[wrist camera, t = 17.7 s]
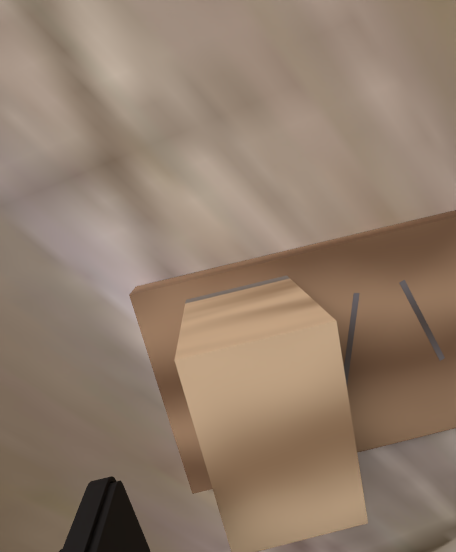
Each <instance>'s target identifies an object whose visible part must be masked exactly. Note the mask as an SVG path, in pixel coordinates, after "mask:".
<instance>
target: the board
mask: <svg viewBox="0 0 456 552" xmlns="http://www.w3.org/2000/svg"><path fill="white" fill-rule="evenodd" d="M283 276H288V277H289V278H290V279H291V280H292V281H293V282H295V283H296V284H297V285H298V286H299V287H300V288H301V289H302V290H303V291H304V292H305V293H307V294H308V295H309V296H310V297H311V298H312V299H313V300H314V301H315V302H316V303H318V304H319V305H320V306H321V307H322V308H323V309H324V310H325V311H326V312H327V313H328V314H330V315H331V316H332V317H333V318H334V319H335V320H336V321H337V327H338V334H339V340H340V347H341V353H342V359H343V366H344V372H345V379H346V385H347V391H348V398H349V404H350V411H351V417H352V423H353V430H354V436H355V443H356V449H357V453H358V452H362V451H366V450H370V449H374V448H378V447H382V446H386V445H390V444H394V443H398V442H402V441H406V440H410V439H414V438H418V437H422V436H426V435H430V434H434V433H438V432H442V431H446V430H450V429H454V428H456V210H455V211H450V212H446V213H442V214H438V215H434V216H430V217H425V218H421V219H417V220H413V221H409V222H404V223H400V224H396V225H392V226H388V227H383V228H379V229H375V230H371V231H367V232H363V233H358V234H354V235H350V236H346V237H342V238H337V239H333V240H329V241H325V242H321V243H317V244H312V245H308V246H304V247H300V248H296V249H291V250H287V251H283V252H279V253H275V254H271V255H266V256H262V257H258V258H254V259H250V260H245V261H241V262H237V263H233V264H229V265H225V266H220V267H216V268H212V269H208V270H204V271H199V272H195V273H191V274H187V275H183V276H179V277H174V278H170V279H166V280H162V281H158V282H153V283H149V284H145V285H141V286H137V287H135V288H134V290H133V291H132V292H131V293H130V295H129V296H130V299H131V302H132V305H133V308H134V311H135V314H136V318H137V321H138V324H139V327H140V330H141V333H142V336H143V340H144V343H145V346H146V349H147V352H148V355H149V358H150V362H151V365H152V368H153V371H154V374H155V377H156V380H157V384H158V387H159V390H160V393H161V396H162V399H163V402H164V406H165V409H166V412H167V415H168V418H169V421H170V424H171V428H172V431H173V434H174V437H175V440H176V443H177V446H178V450H179V453H180V456H181V459H182V462H183V465H184V468H185V472H186V475H187V478H188V481H189V484H190V487H191V490H192V494H194V493H198V492H202V491H206V490H210V489H213V488H212V485H211V481H210V478H209V475H208V471H207V468H206V465H205V461H204V458H203V455H202V451H201V448H200V444H199V441H198V438H197V434H196V431H195V428H194V424H193V421H192V418H191V414H190V411H189V408H188V404H187V401H186V398H185V394H184V391H183V387H182V384H181V381H180V377H179V374H178V371H177V367H176V364H175V361H174V360H175V355H176V349H177V344H178V339H179V334H180V328H181V323H182V318H183V312H184V307H185V302H186V300H187V299H191V298H195V297H200V296H204V295H208V294H212V293H216V292H220V291H225V290H229V289H233V288H237V287H241V286H245V285H249V284H254V283H258V282H262V281H266V280H270V279H274V278H279V277H283Z"/></svg>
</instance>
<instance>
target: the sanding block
mask: <svg viewBox="0 0 456 552" xmlns="http://www.w3.org/2000/svg"><path fill="white" fill-rule="evenodd" d="M174 361H175V364H176V367H177V371H178V374H179V377H180V381H181V384H182V387H183V391H184V394H185V398H186V401H187V404H188V408H189V411H190V414H191V418H192V421H193V424H194V428H195V431H196V434H197V438H198V441H199V444H200V448H201V451H202V455H203V458H204V461H205V465H206V468H207V471H208V475H209V478H210V481H211V485H212V488H213V491H214V495H215V498H216V501H217V505H218V508H219V512H220V515H221V518H222V522H223V525H224V528H225V532H226V535H227V538H228V542H229V545H230V548H231V552H257V551H261V550H265V549H269V548H273V547H277V546H281V545H285V544H288V543H292V542H296V541H300V540H304V539H308V538H312V537H316V536H320V535H324V534H328V533H332V532H336V531H340V530H344V529H347V528H351V527H355V526H359V525H363V524H367V523H368V519H367V513H366V507H365V500H364V494H363V487H362V481H361V475H360V468H359V462H358V455H357V449H356V443H355V436H354V430H353V423H352V417H351V411H350V404H349V398H348V391H347V385H346V379H345V372H344V366H343V359H342V353H341V347H340V340H339V334H338V327H337V321H336V320H335V319H334V318H333V317H332V316H331V315H330V314H328V313H327V312H326V311H325V310H324V309H323V308H322V307H321V306H320V305H319V304H318V303H316V302H315V301H314V300H313V299H312V298H311V297H310V296H309V295H308V294H307V293H305V292H304V291H303V290H302V289H301V288H300V287H299V286H298V285H297V284H296V283H295V282H293V281H292V280H291V279H290V278H289V277H288V276H283V277H279V278H274V279H270V280H266V281H262V282H258V283H254V284H249V285H245V286H241V287H237V288H233V289H229V290H225V291H220V292H216V293H212V294H208V295H204V296H200V297H195V298H191V299H187V300H186V302H185V307H184V312H183V318H182V323H181V328H180V334H179V339H178V344H177V349H176V355H175V360H174Z"/></svg>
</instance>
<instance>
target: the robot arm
mask: <svg viewBox="0 0 456 552" xmlns="http://www.w3.org/2000/svg"><path fill="white" fill-rule="evenodd" d="M59 552H150V549H149V547H148V544H147V542H146V539H145V537H144V534H143V532H142V529H141V527H140V525H139V522H138V520H137V517H136V515H135V512H134V510H133V508H132V505H131V503H130V500H129V498H128V495H127V493H126V490H125V488H124V486H123V483H122V482H121V481H117V482H116V480H115V478H114V477H113V476H112V477H108V478H103V479H99V480H95V481H91V482H90V483H89V484H88V486H87V488H86V491H85V493H84V496H83V498H82V501H81V503H80V506H79V508H78V511H77V513H76V516H75V519H74V521H73V524H72V526H71V529H70V531H69V534H68V536H67V539H66V541H65V544H64V547H63V549H61V550H60V551H59Z"/></svg>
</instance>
